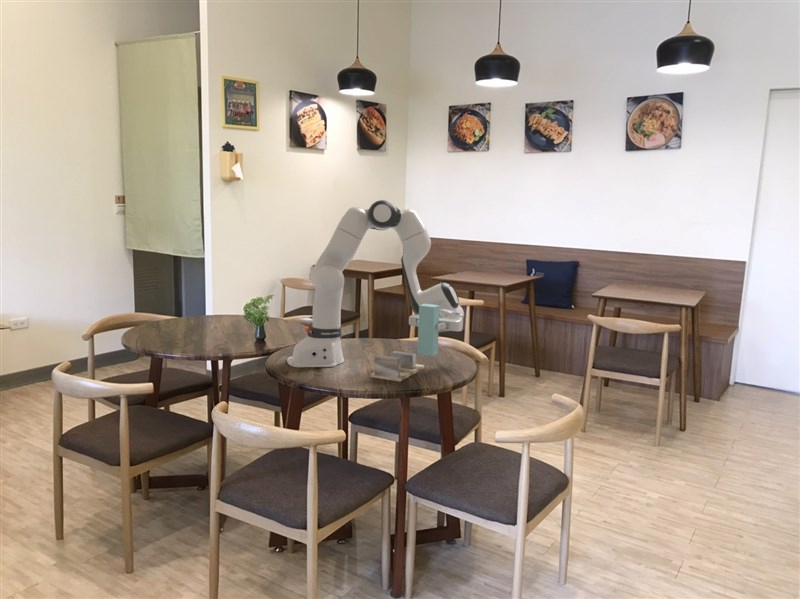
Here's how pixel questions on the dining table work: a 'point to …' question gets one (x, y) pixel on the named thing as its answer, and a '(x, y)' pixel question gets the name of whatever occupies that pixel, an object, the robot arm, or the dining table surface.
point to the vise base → (402, 373)
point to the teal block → (428, 329)
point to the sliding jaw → (405, 359)
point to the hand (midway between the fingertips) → (427, 325)
